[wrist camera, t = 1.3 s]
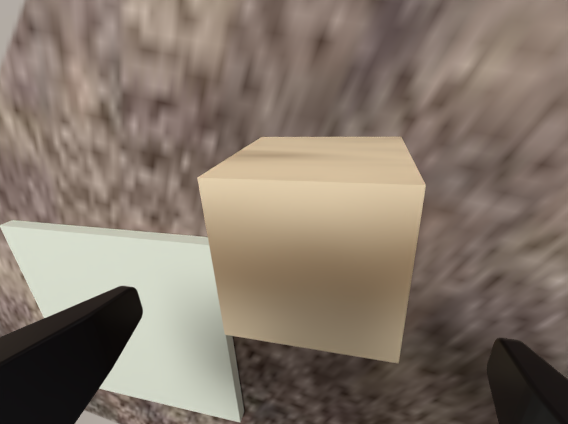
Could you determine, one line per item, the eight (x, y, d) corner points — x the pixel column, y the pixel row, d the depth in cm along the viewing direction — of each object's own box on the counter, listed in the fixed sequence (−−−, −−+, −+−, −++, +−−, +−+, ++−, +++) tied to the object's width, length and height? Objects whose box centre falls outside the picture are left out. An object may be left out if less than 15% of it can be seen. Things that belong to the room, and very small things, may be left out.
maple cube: (387, 259, 15) (398, 363, 10) (270, 249, 16) (224, 334, 11) (401, 136, 12) (425, 185, 7) (261, 136, 14) (197, 177, 9)
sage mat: (244, 411, 23) (240, 422, 22) (83, 374, 27) (75, 382, 26) (217, 237, 17) (210, 245, 16) (12, 220, 20) (-1, 225, 20)
